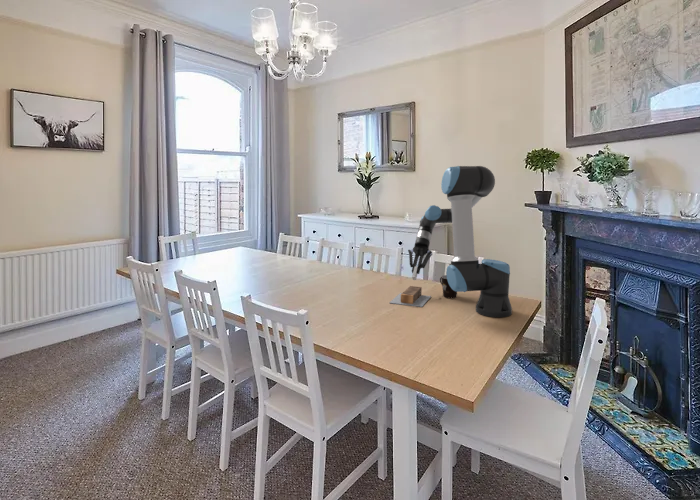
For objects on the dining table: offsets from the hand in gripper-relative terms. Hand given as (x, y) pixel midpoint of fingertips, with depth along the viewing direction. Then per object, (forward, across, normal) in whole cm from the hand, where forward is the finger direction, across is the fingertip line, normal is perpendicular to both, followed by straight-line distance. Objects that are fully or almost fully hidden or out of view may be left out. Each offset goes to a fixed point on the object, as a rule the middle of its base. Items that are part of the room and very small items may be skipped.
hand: (414, 278), depth 204 cm
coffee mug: (+2, -16, -12) cm, 20 cm away
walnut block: (+3, 0, -6) cm, 7 cm away
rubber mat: (+12, 0, -1) cm, 12 cm away
